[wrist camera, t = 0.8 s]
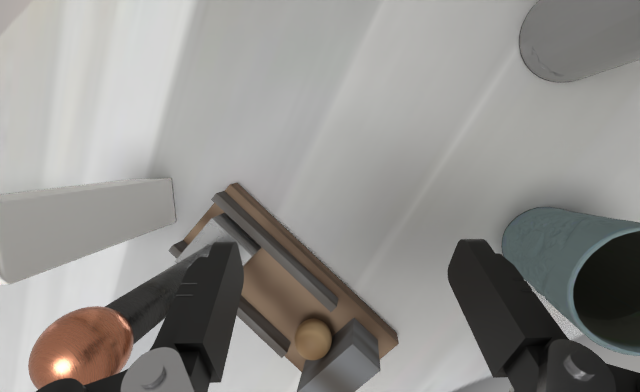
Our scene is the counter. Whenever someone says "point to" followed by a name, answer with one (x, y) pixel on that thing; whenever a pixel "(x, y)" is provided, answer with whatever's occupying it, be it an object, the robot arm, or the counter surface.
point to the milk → (77, 222)
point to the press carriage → (123, 316)
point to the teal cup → (582, 270)
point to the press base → (300, 303)
